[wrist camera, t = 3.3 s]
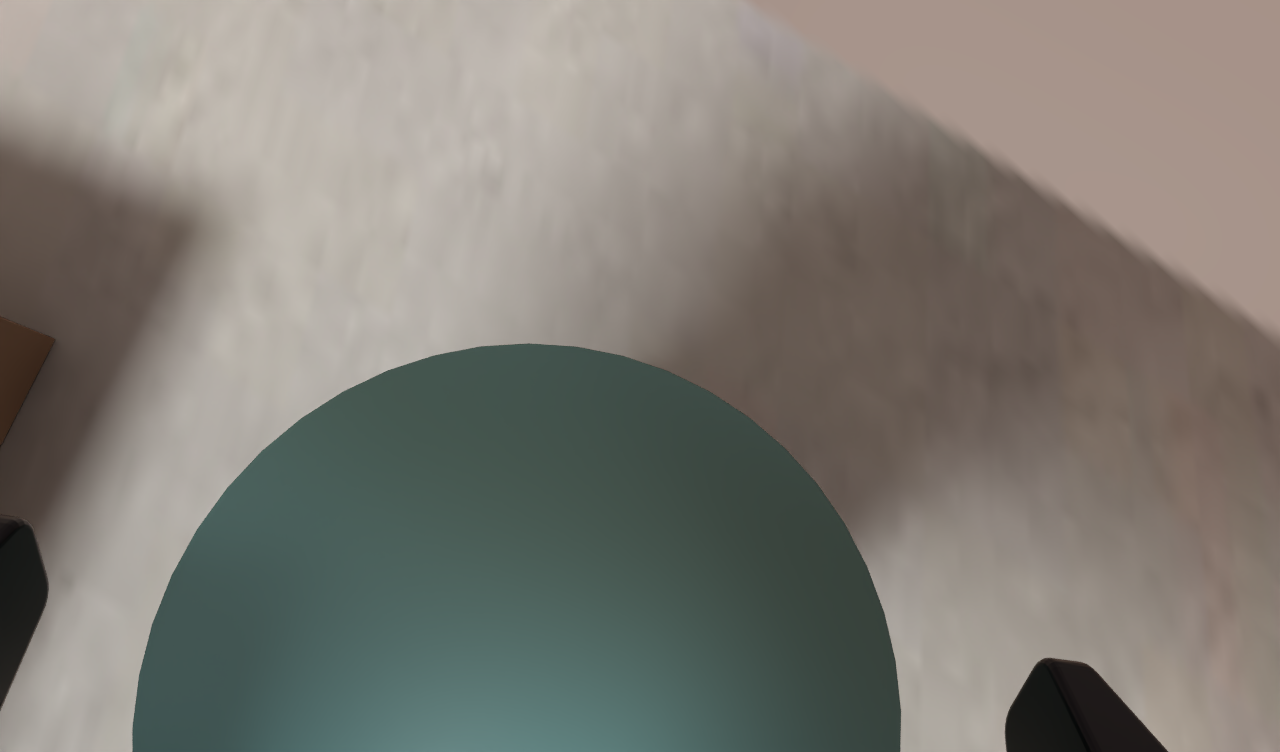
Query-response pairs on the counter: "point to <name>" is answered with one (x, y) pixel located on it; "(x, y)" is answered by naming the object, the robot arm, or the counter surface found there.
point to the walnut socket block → (18, 367)
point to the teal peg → (521, 578)
